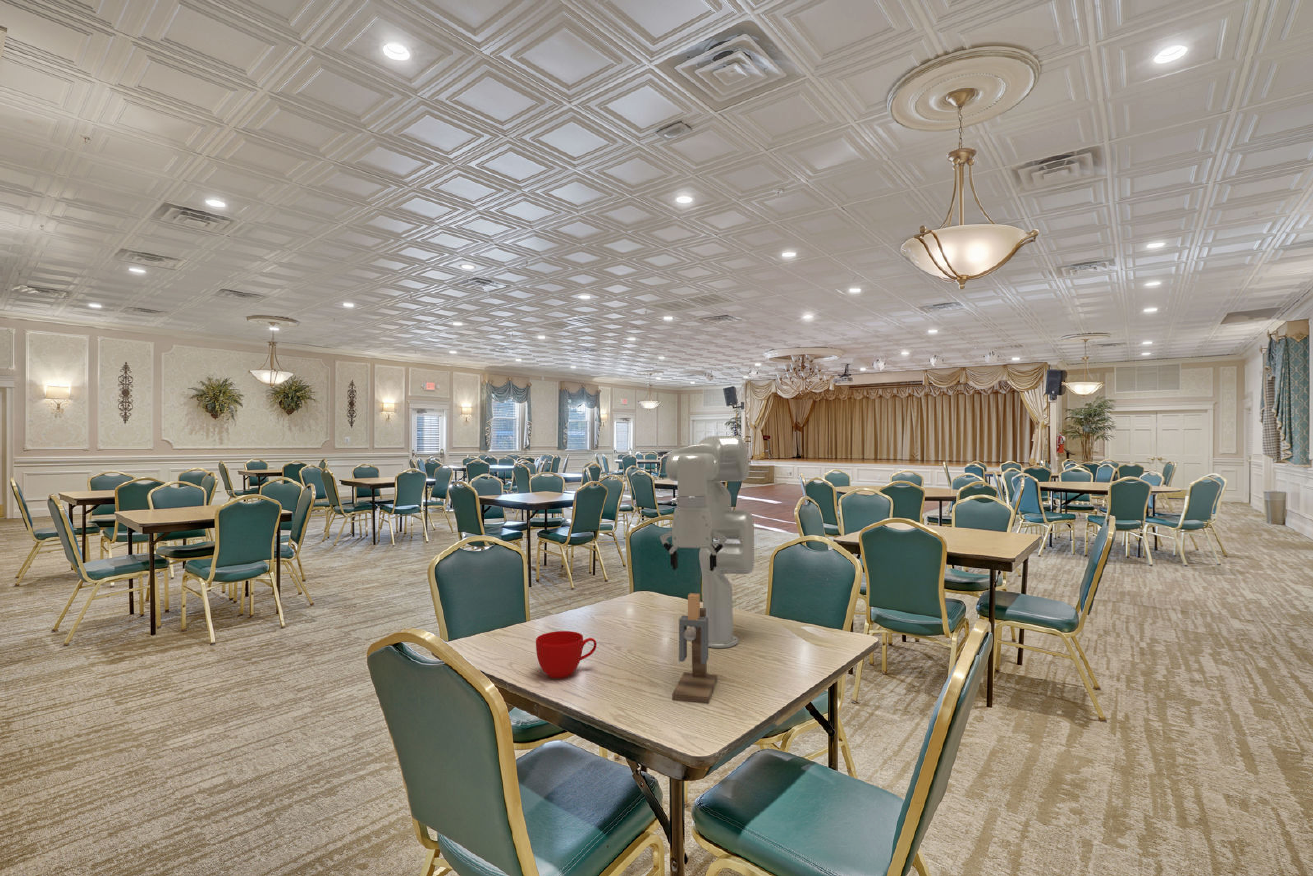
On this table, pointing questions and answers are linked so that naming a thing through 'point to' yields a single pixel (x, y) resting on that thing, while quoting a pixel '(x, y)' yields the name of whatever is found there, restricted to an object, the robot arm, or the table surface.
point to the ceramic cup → (561, 652)
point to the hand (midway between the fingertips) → (693, 569)
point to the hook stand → (695, 672)
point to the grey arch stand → (694, 621)
